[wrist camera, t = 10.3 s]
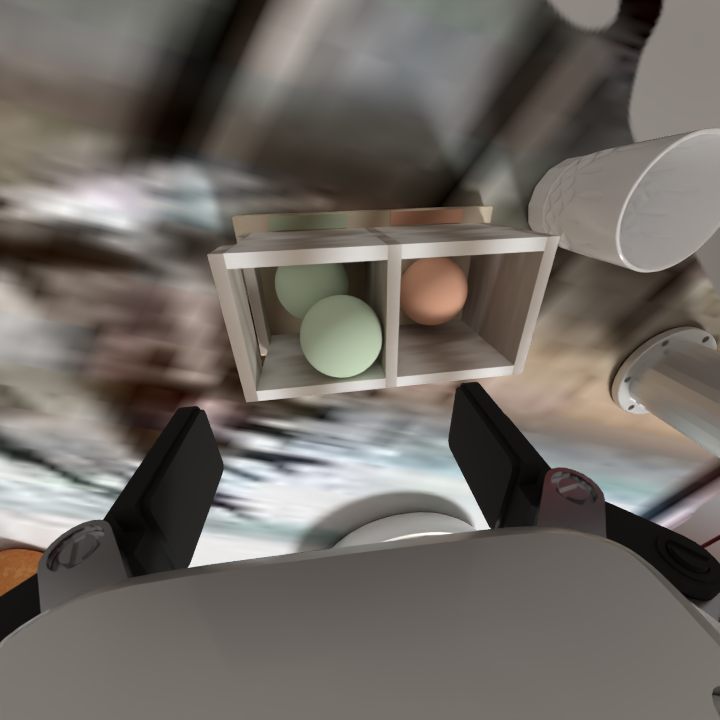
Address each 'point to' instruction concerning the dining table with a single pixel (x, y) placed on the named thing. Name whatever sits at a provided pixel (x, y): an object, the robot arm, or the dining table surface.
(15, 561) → the bread
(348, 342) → the sage ball
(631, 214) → the white cup
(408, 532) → the bowl
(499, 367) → the grey divided rectangular box
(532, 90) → the dining table surface
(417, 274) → the terracotta ball
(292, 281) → the sage ball
